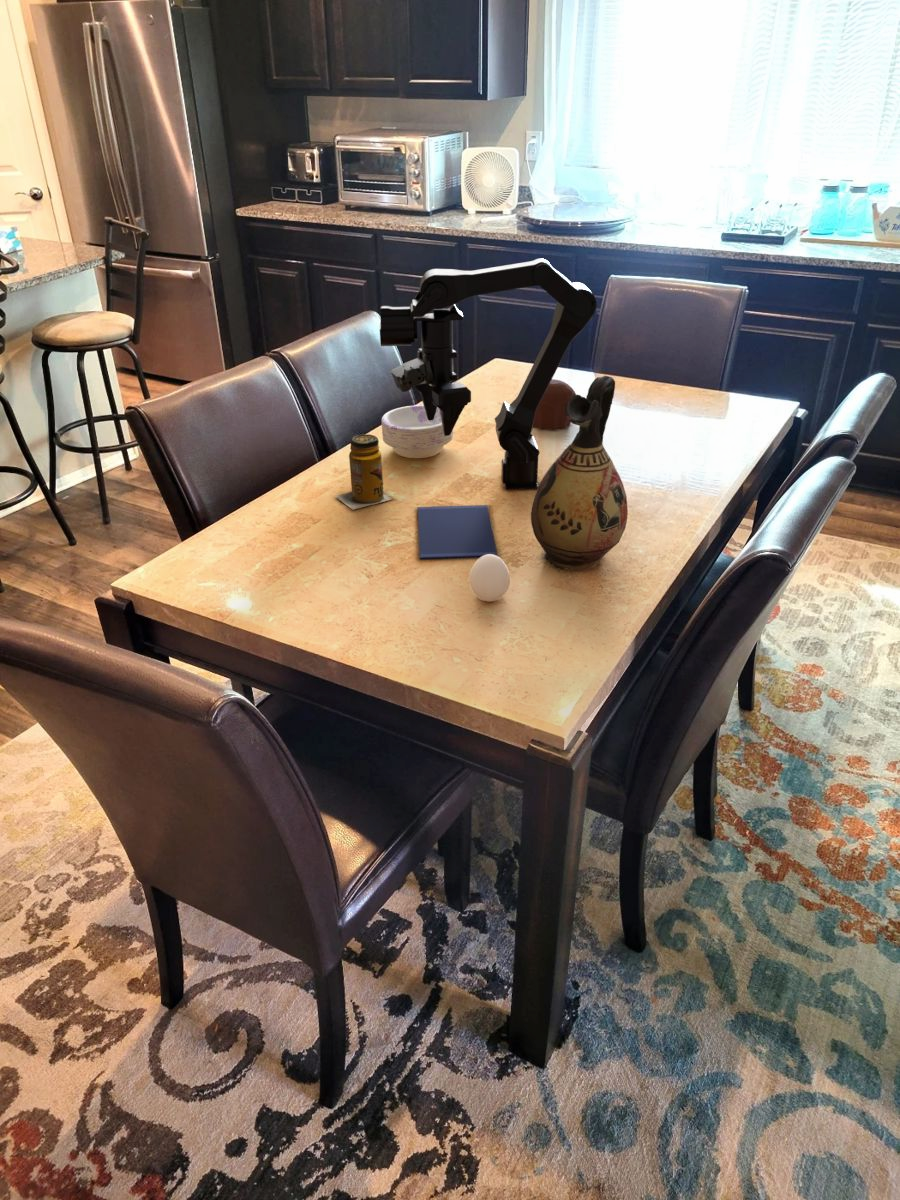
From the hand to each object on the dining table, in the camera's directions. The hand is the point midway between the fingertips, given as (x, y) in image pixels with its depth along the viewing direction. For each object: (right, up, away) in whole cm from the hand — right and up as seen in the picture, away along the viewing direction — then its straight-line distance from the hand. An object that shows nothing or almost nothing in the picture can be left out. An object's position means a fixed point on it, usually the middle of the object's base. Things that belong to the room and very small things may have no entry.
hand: (438, 427), depth 162 cm
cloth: (+3, -21, -11) cm, 24 cm away
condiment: (-14, -14, +1) cm, 20 cm away
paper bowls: (-5, -1, +22) cm, 23 cm away
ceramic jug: (+24, -26, -19) cm, 40 cm away
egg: (+8, -33, -31) cm, 46 cm away
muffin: (+26, +8, +36) cm, 45 cm away
